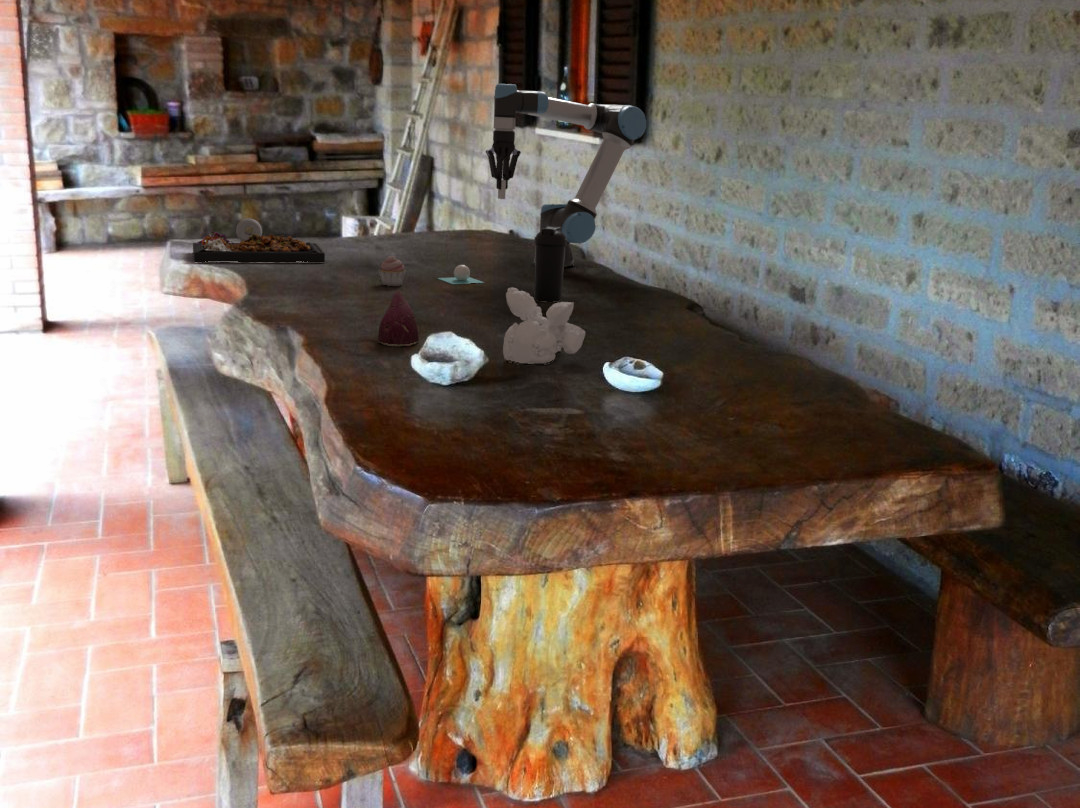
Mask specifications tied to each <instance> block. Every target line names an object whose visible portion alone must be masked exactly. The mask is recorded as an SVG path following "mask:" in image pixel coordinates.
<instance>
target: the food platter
mask: <svg viewBox="0 0 1080 808" xmlns="http://www.w3.org/2000/svg"><path fill="white" fill-rule="evenodd" d="M210 229H211V234H210V233H209V232H207V234H208V235H207V236H203V239H201V240H199V241H197V242H192V254H194V255H193V261H195V262H205V261H206V262H208V261H238V262H296V261H302V262H303V261H304V262H307V261H308V262H325V263H326V261H325V259H326V258H325V257H326V255H325V252H324V251H323V249H322V248H321V247H320V246H319V245H318V244H317V243H316V242H315V243H313V242H310V241H308V242H305V241H303V240H299V238H296V239H295V238H293V237H292V236H291V235H289V236H287V237H284V235H279V236H277V235H276V236H275V235H274V234H272V233H271V234H269V235H268V236H266V235H263V234H262V236H261V237H260V235H258V234H253V233H252V234H253V235H252V234H251V235H252V236H249V240H244V241H241V240H240V241H239V242H234V241H231V240H230V239H227V238H228V236H226V234H225V233H224V234H220V233H219V232H217V231H214V230H213V229H212V227H210Z"/></svg>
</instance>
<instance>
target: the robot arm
mask: <svg viewBox="0 0 1080 808" xmlns="http://www.w3.org/2000/svg"><path fill="white" fill-rule="evenodd" d="M493 98H494V99H493V100H494V102H493V103H494V104H493V105H494V107H493V109H494V110H493V129H494V130H493V133H492V134H493V135H492V140H493V141H492V142H493V143H492V145H491V148H490V149H486V150H485V154H486V156H487V157H488V163H489V170H490V175H491V178H492V179H495V180H496V184H495V185H496V186H495V188H496V189H497V191H498V192H497V199H500V200H506V190H508V187H509V180H510V179H513V178H514V175H515V171H516V167H517V163H518V159H519V157H520V155H521V151H520V150H518V149H517V148H516V145H515V137H516V132H515V130H516V114H524V115H529V116H534V117H539V118H545V119H549V120H552V121H553V120H554V121H559V122H563V123H569V124H573V125H578V126H583V128H584V129H586V130H589V131H593V132H597V133H600V134H601V135H602V137H603V141H601V144H600V146H599V148H598V150H597V152H596V154H595V156H594V158H593V160H592V162H591V165H590V166H589V168H588V170H587V172H586V175H585V176H584V179H583V180H582V182H581V184H580V186H579V189H578V190H577V193H576V194H575V196H574V197H573V198H572V199H571V198H570V199H569V200H568V201H567V202H566V203H549V204H548V203H547V204H546V203H545V204H543V205H542V206H541V209H540V214H539V215H540V218H539V219H540V220H539V222H540V223H539V232H541V231H542V228H547V227H560V228H561V229H558V231H560V232H562V233H563V234H564V235H565V237H566V238H567V245H566V247H565V259H564V266H565V265H570V264H573V263H574V262H575V260H574V256H573V252H572V248H571V244H584V243H585V242H587V241H589V240H590V239H591V238H592V237H593V235H594V234H595V232H596V227H597V226H596V217H597V215H598V213H597V210H596V208H597V206H598V204H599V202H600V200H601V198H602V196H603V194H604V192H605V190H606V188H607V186H608V184H609V183H610V180H611V178H612V177H613V174H614V172H615V170H616V168H617V166H618V164H619V162H620V160H621V158H622V156H623V154H624V152H625V151H626V150H630V149H631V147H632V145H633V144H634V141H635V140H637V139H640V138H641V137H642V136H643V135H644V133H645V132H646V130H647V119H646V115H645V113H644V111H642V109H640V108H639V107H637V106H634V105H631V104H616V103H615V104H601V103H600V104H599V103H598V104H597V103H589V104H583V103H579V102H575V101H574V102H573V101H569V100H566V99H565V100H564V99H559V98H555V97H549V96H548V94H547V93H546V92H545V91H540V90H539V91H538V90H537V91H536V90H518V88H517V84H512V83H507V84H506V83H497V84H496V85H495V88H494V97H493ZM534 263H535V256H534V258H533V264H534ZM573 265H574V264H573Z"/></svg>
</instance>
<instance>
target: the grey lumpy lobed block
mask: <svg viewBox="0 0 1080 808" xmlns="http://www.w3.org/2000/svg"><path fill="white" fill-rule="evenodd" d="M505 298H506V304H507V306H508V309H510V312H511V313H512V314H513V315H514V316H515V317H518V318H520V320H521V321H522V322H520V323H519V324H518V323H517V322H514V323H513V324H512V325H511V326H509V328H508V329H507V330H506V331H505V334H504V338H503V346H502V352H503V353H502V354H503V358H504V360H505V359H506V360H511V361H515V362H519V363H528V364H534V363H546V362H550V361H552V360H553V361H554V360H555V358H556V355H555V353H556V352H558V351H561V352H562V348H563V351H564V353H566V354H570V355H573V354H576V353H577V352H578V351H579V350H580V349H581V347H582V346H583V342H584V339H585V337H586V331H585V330H584V329H583V328H581V327H580V326H578V325H575V324H573V323H569V322H568V321H569V320H570V317H571V315H572V313H573V310H574V305H575V302H573V301H572V302H568V301H561V302H557V303H552V305H551V306H549V308H548V309H547V311H546V313H545V314H546V317H545V316H543V313H542V308H541V307H540V306H538V304H537V303H536V301H535V300H534V297H533V296H531V294H530V293H529V292H527V291H525V290H524V291H523V290H519V289H518V288H516V287H513V286H511V287H508V288H507V292H506V293H505ZM553 361H552V362H553Z"/></svg>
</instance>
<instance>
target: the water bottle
mask: <svg viewBox="0 0 1080 808" xmlns="http://www.w3.org/2000/svg"><path fill="white" fill-rule="evenodd" d="M558 229H561V228H560V227H547V228H542V231H541V232H540V231H539V232H537V233H536V235H535V236H534V239H533V240H534V242H533V243H534V245H535V246H534V247H535V248H534V249H535V250H534V251H535V252H534V257H535V264H534V297H533V298H534V299H535V300H538V301H547V302H553V301H559V300H561V301H562V292H563V284H564V283H563V280H564V269H565V268H564V259H565V247H566V245H567V238H566V237H565V235H564V234H563V233H562V232H560V231H558ZM538 301H537V302H538Z"/></svg>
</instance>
